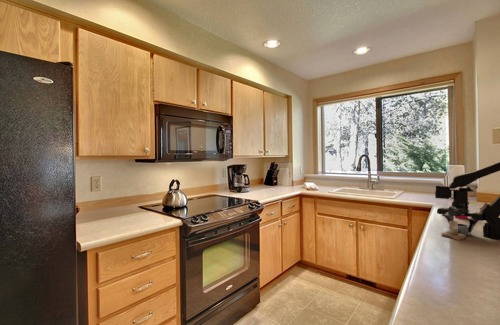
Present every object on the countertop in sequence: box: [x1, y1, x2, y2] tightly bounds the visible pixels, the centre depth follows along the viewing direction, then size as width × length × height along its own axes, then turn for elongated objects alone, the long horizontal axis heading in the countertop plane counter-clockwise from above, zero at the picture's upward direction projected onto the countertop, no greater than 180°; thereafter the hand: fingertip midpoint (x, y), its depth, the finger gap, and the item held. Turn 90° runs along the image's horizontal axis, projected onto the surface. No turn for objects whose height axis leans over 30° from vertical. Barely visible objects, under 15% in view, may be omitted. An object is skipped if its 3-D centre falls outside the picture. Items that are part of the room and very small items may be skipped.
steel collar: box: [458, 222, 472, 236], centre depth 123 cm, size 7×7×4 cm
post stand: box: [441, 220, 467, 241], centre depth 117 cm, size 7×7×7 cm
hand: (460, 230), depth 123 cm, fingers closed on steel collar, 7 cm apart
